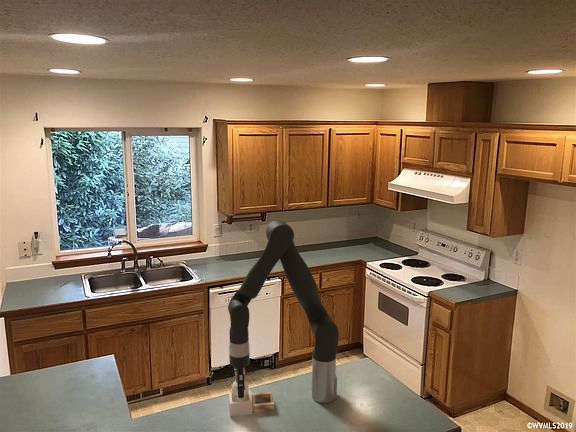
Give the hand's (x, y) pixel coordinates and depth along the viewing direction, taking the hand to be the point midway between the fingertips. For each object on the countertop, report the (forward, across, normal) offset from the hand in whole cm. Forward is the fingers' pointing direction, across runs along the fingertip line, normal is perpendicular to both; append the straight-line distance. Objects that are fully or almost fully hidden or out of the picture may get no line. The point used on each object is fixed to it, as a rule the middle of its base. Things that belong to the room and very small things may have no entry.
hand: (240, 391), depth 173 cm
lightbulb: (+6, -1, 0) cm, 6 cm away
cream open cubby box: (+7, 0, 0) cm, 7 cm away
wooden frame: (+7, 0, -8) cm, 11 cm away
